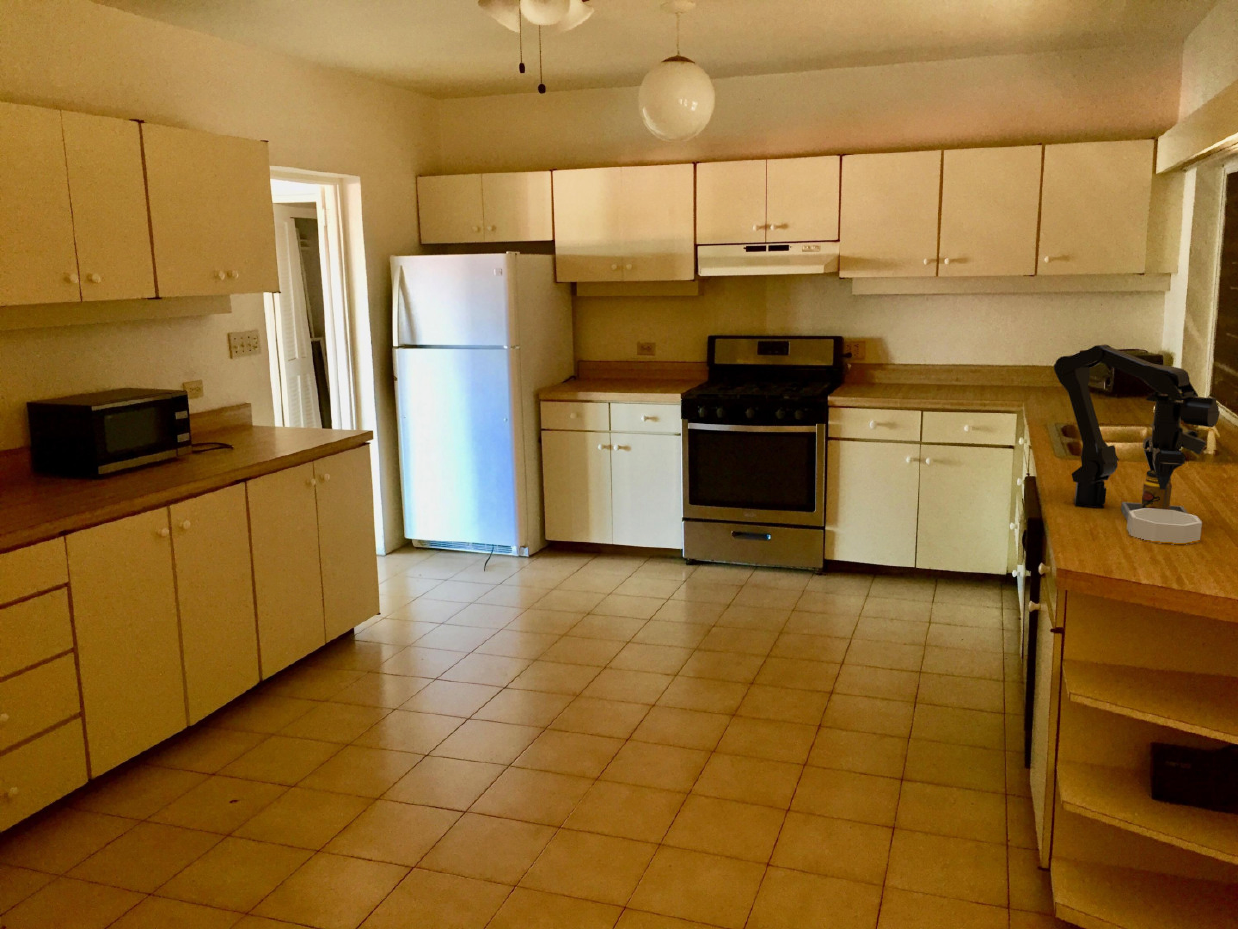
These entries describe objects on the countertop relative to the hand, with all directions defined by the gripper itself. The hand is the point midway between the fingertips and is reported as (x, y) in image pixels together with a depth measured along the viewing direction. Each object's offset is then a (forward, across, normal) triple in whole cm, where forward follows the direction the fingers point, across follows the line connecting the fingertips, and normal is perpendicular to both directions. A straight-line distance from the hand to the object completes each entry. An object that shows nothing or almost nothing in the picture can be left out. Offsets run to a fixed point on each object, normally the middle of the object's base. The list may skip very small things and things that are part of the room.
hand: (1159, 484), depth 237 cm
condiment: (+9, 0, 0) cm, 9 cm away
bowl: (+8, -15, +1) cm, 17 cm away
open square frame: (+9, 0, 0) cm, 9 cm away
